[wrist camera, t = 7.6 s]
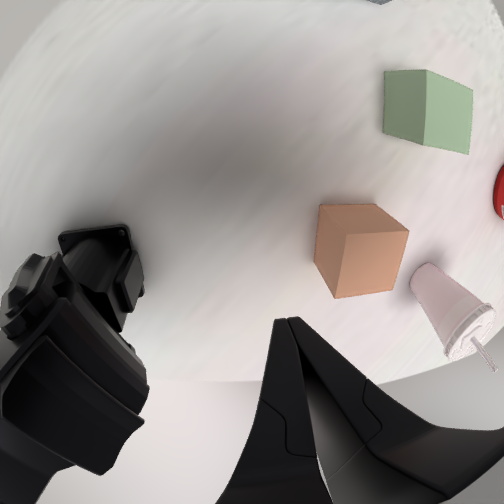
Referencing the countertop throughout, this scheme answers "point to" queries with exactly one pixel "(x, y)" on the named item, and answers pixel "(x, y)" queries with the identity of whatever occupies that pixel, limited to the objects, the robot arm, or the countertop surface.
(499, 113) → the countertop surface
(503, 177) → the canned food
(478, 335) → the smoothie
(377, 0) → the slate block
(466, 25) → the countertop surface
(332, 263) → the terracotta block
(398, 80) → the green block
